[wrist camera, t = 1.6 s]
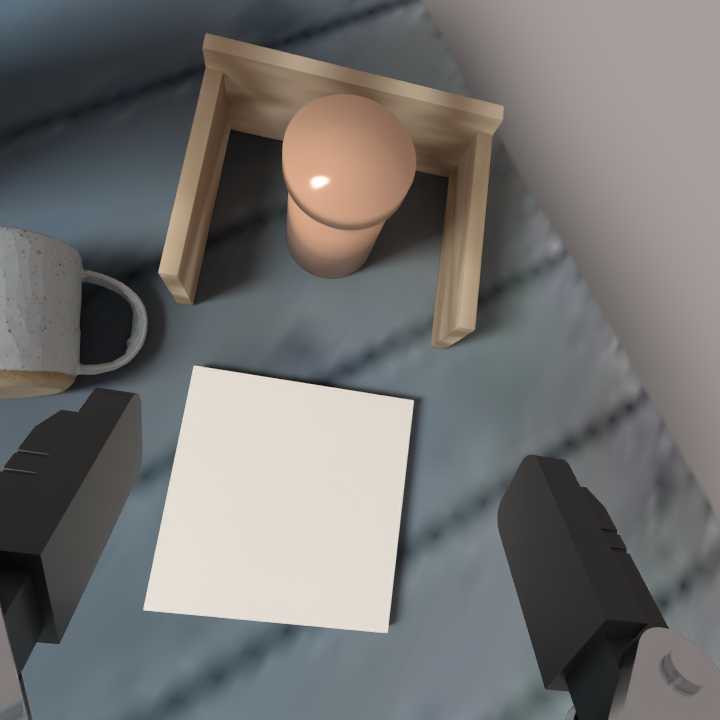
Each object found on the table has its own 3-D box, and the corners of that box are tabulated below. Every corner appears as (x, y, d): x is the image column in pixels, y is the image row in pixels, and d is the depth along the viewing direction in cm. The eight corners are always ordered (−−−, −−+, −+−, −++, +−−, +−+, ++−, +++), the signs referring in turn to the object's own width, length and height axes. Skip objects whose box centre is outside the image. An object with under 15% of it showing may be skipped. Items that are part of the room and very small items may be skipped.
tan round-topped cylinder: (272, 274, 34) (271, 201, 24) (289, 183, 36) (294, 80, 26) (371, 292, 35) (408, 229, 25) (383, 203, 36) (423, 111, 27)
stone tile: (147, 605, 29) (143, 610, 28) (196, 368, 32) (193, 365, 31) (384, 627, 31) (387, 633, 30) (409, 402, 34) (413, 400, 33)
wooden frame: (177, 302, 33) (151, 262, 26) (218, 113, 36) (205, 32, 29) (444, 349, 35) (485, 323, 28) (462, 168, 38) (504, 106, 31)
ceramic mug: (-37, 409, 30) (-138, 393, 22) (-37, 275, 31) (-132, 217, 23) (155, 390, 32) (122, 370, 24) (148, 266, 33) (114, 210, 26)
